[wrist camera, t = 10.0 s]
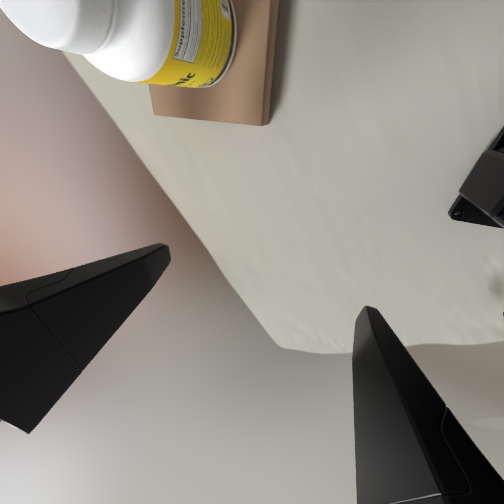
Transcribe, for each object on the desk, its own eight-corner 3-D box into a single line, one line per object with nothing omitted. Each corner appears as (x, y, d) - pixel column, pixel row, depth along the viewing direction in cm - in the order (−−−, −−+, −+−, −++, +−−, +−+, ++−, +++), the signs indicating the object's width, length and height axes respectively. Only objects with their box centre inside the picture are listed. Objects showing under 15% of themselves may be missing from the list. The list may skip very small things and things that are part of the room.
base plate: (286, -74, 11) (277, -103, 10) (268, 124, 16) (261, 126, 15) (145, -57, 13) (119, -78, 12) (169, 114, 19) (154, 114, 17)
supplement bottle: (161, 73, 15) (-19, 42, 8) (163, -48, 12) (-157, -325, 4) (228, 101, 15) (109, 98, 7) (251, -16, 11) (70, -261, 4)
